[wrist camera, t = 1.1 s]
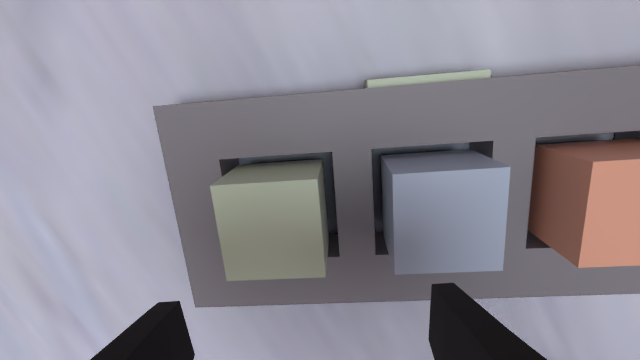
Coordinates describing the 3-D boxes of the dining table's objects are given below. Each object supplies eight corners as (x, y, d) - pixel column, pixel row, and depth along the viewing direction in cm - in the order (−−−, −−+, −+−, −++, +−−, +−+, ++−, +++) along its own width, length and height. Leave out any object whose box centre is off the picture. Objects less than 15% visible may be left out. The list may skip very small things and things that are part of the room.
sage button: (329, 238, 19) (325, 277, 15) (250, 241, 20) (226, 280, 16) (322, 159, 18) (317, 179, 14) (238, 164, 18) (209, 185, 14)
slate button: (467, 231, 19) (502, 270, 15) (383, 235, 19) (395, 274, 15) (471, 149, 17) (510, 167, 13) (380, 155, 18) (392, 174, 14)
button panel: (645, 263, 20) (695, 291, 17) (213, 279, 23) (195, 307, 20) (687, 53, 17) (757, 45, 14) (179, 97, 19) (151, 98, 17)
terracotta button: (616, 224, 18) (696, 263, 14) (525, 228, 18) (578, 267, 14) (631, 138, 17) (723, 153, 13) (533, 144, 17) (593, 161, 13)
